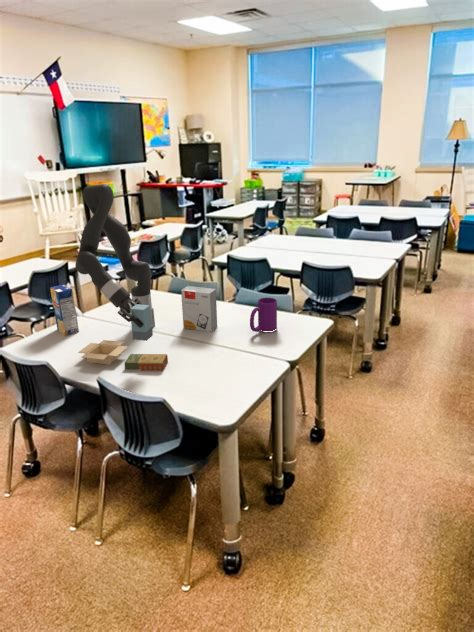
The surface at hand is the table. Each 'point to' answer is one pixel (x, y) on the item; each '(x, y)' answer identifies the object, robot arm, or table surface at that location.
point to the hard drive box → (199, 308)
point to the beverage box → (64, 309)
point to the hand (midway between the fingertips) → (145, 323)
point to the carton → (146, 362)
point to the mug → (265, 315)
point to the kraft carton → (103, 351)
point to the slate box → (145, 317)
